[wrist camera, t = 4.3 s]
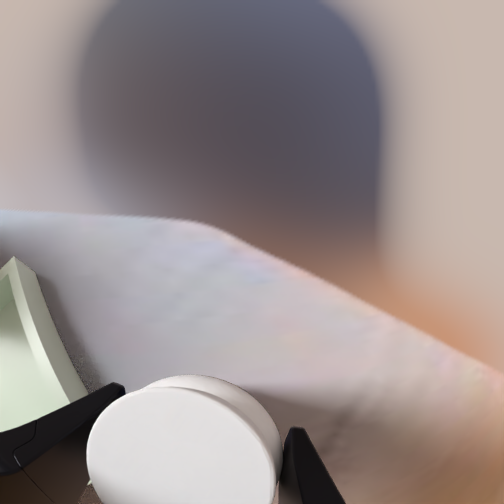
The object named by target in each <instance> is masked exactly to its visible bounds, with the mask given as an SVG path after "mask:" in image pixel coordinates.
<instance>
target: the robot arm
mask: <svg viewBox="0 0 504 504" xmlns="http://www.w3.org/2000/svg"><path fill="white" fill-rule="evenodd" d="M124 395H126V393H125V388H124V386H123V385H121V384H118V383H115V382H113V383H110V384H108V385H106V386H104V387H102V388H100V389H98V390H96V391H94V392H92V393H90V394H88V395H86V396H84V397H82V398H80V399H78V400H76V401H74V402H72V403H70V404H68V405H66V406H63V407H61V408H59V409H57V410H55V411H53V412H51V413H49V414H46V415H44V416H42V417H40V418H38V419H35V420H33V421H31V422H29V423H26V424H24V425H21V426H19V427H16V428H13V429H10V430H6V431H3V432H0V504H77V503H78V501H79V499H80V498H81V496H82V494H83V492H84V490H85V488H86V486H87V485H88V483H89V481H90V476H89V472H88V468H87V443H88V439H89V435H90V432H91V430H92V427H93V425H94V423H95V422H96V420H97V418H98V417H99V416H100V414H101V413H102V412H103V411H104V410H105V409H106V408H107V407H108V406H109V405H110V404H111V403H113V402H114V401H116V400H117V399H119V398H120V397H122V396H124ZM279 504H346V503H345V501H344V499H343V498H342V496H341V494H340V492H339V491H338V489H337V487H336V485H335V484H334V482H333V480H332V478H331V477H330V475H329V473H328V471H327V469H326V468H325V466H324V464H323V462H322V460H321V459H320V457H319V455H318V453H317V451H316V449H315V448H314V446H313V444H312V442H311V440H310V438H309V436H308V435H307V433H306V431H305V429H304V428H302V427H294V426H293V427H291V428H290V430H289V433H288V435H287V438H286V440H285V444H284V451H283V466H282V471H281V475H280V479H279Z"/></svg>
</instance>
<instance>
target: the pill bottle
mask: <svg viewBox="0 0 504 504" xmlns="http://www.w3.org/2000/svg"><path fill="white" fill-rule="evenodd" d="M282 466H283V447H282V442H281V438H280V434H279V431H278V429H277V427H276V425H275V423H274V421H273V419H272V418H271V416H270V415H269V413H268V412H267V411H266V409H265V408H264V407H263V406H262V405H261V404H260V403H259V402H258V401H257V400H256V399H255V398H254V397H253V396H252V395H251V394H249V393H248V392H247V391H245V390H243V389H242V388H240V387H238V386H236V385H234V384H232V383H229V382H227V381H224V380H221V379H218V378H214V377H209V376H203V375H179V376H172V377H168V378H164V379H161V380H158V381H155V382H153V383H151V384H149V385H147V386H145V387H144V388H142V389H140V390H137V391H134V392H131V393H128V394H126V395H124V396H122V397H120V398H119V399H117V400H116V401H114V402H113V403H111V404H110V405H109V406H108V407H107V408H106V409H105V410H104V411H103V412H102V413H101V414H100V416H99V417H98V418H97V420H96V422H95V423H94V425H93V427H92V430H91V432H90V435H89V439H88V443H87V468H88V472H89V476H90V479H91V482H92V485H93V487H94V489H95V491H96V493H97V495H98V497H99V499H100V500H101V502H102V503H103V504H272V503H273V500H274V496H275V490H276V485H277V483H278V481H279V479H280V475H281V471H282Z"/></svg>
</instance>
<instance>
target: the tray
mask: <svg viewBox="0 0 504 504" xmlns="http://www.w3.org/2000/svg"><path fill="white" fill-rule="evenodd" d="M88 394H89V393H88V391H87V390H86V388H85V386H84V384H83V382H82V381H81V379H80V377H79V375H78V373H77V371H76V369H75V368H74V366H73V364H72V362H71V360H70V358H69V356H68V354H67V352H66V349H65V347H64V345H63V343H62V341H61V339H60V336H59V334H58V332H57V330H56V327H55V325H54V323H53V320H52V318H51V315H50V313H49V310H48V308H47V305H46V302H45V300H44V297H43V294H42V291H41V288H40V285H39V282H38V279H37V276H36V273H35V272H34V271H33V270H31V269H30V268H29V267H27V266H26V265H25V264H24V263H22V262H21V261H20V260H19V259H17V258H16V257H15V256H14V257H12V258H11V259H10V260H9V261H8V262H7V263H6V264H5V265H4V266H3V267H2V268H1V269H0V432H3V431H6V430H10V429H13V428H16V427H19V426H21V425H24V424H26V423H29V422H31V421H33V420H35V419H38V418H40V417H42V416H44V415H46V414H49V413H51V412H53V411H55V410H57V409H59V408H61V407H63V406H66V405H68V404H70V403H72V402H74V401H76V400H78V399H80V398H82V397H84V396H86V395H88ZM90 484H92V482H91V479H90V481H89V483H88V485H90ZM88 485H87V486H88Z"/></svg>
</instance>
